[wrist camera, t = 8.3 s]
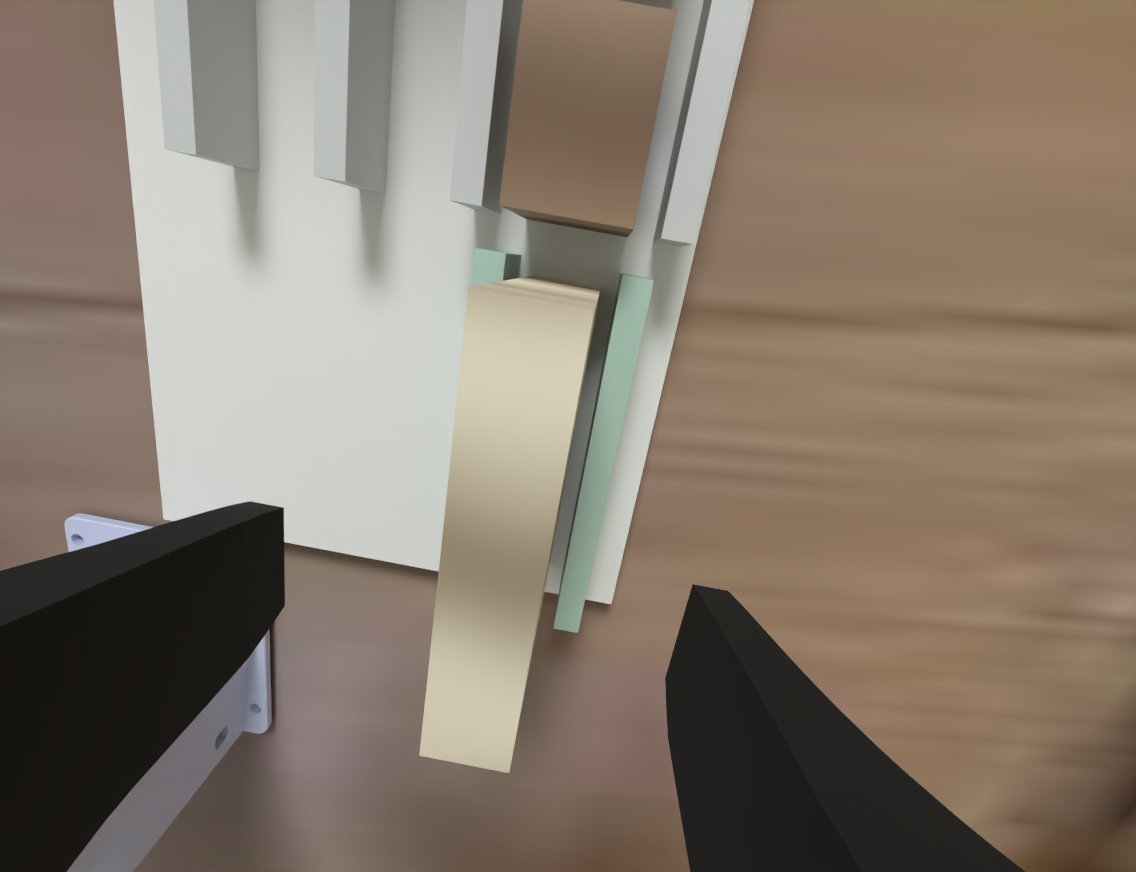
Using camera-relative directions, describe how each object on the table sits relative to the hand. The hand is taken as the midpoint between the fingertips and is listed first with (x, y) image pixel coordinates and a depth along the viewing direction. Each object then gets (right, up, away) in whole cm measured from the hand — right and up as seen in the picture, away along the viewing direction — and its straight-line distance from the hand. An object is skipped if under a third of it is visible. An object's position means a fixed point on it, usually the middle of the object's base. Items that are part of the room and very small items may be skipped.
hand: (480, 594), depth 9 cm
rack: (-3, +10, +7) cm, 12 cm away
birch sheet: (+1, +3, +8) cm, 9 cm away
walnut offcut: (+2, +11, +5) cm, 12 cm away
